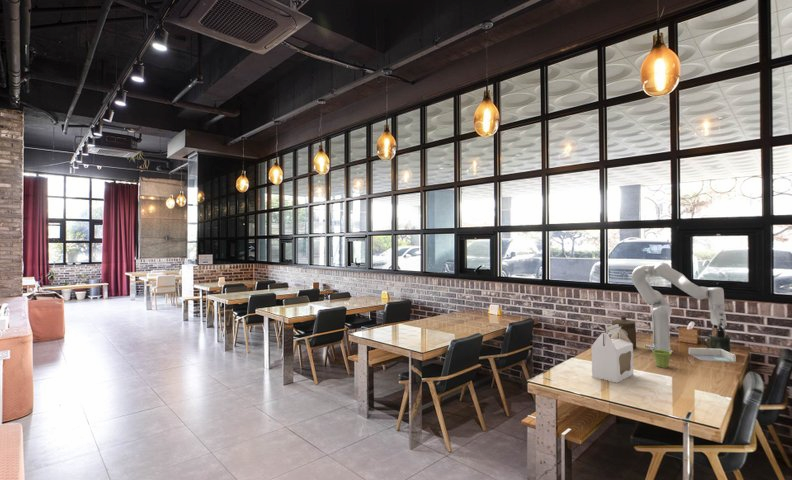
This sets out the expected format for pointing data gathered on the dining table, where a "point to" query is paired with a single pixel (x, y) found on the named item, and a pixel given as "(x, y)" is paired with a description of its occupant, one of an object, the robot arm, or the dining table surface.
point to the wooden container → (627, 329)
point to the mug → (718, 342)
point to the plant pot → (662, 358)
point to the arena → (712, 354)
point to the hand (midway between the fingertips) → (718, 336)
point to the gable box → (612, 355)
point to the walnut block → (716, 332)
